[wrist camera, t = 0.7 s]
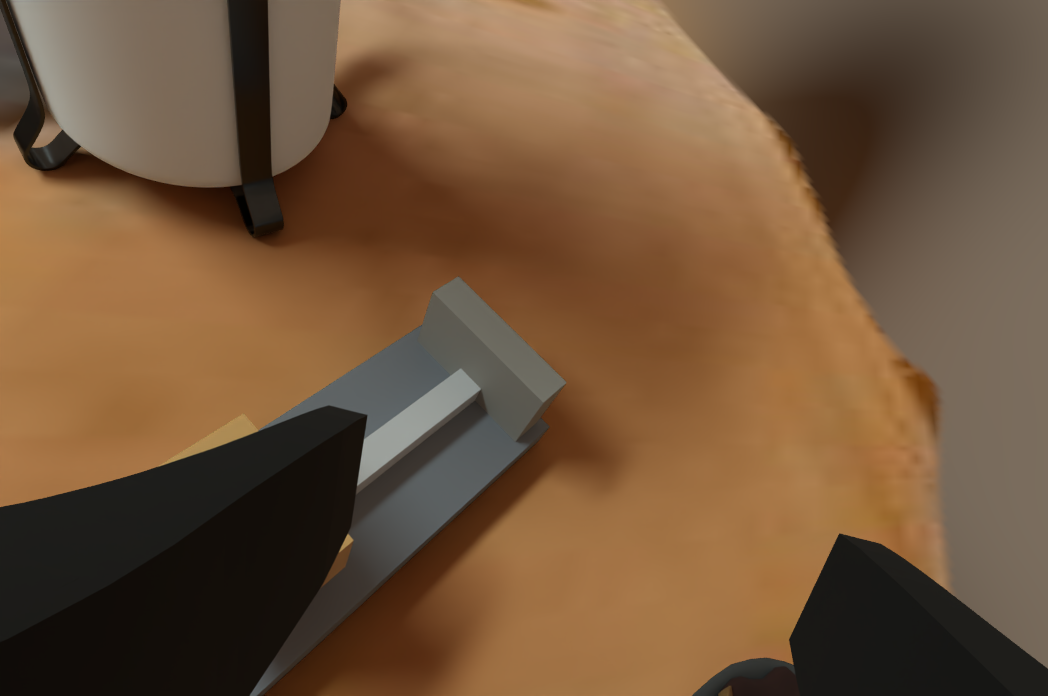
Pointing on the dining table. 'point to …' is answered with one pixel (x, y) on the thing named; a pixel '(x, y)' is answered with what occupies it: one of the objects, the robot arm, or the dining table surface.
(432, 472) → the track
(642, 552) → the dining table surface
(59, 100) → the coffee press
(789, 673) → the sundae
